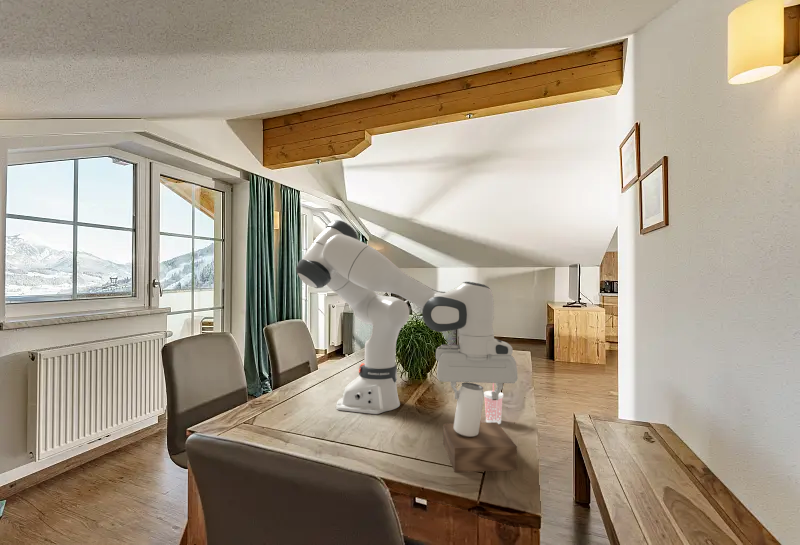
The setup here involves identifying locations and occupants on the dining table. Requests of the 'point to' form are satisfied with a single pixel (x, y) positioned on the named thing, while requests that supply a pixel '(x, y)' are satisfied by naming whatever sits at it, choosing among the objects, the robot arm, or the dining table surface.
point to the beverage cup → (493, 407)
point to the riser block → (480, 449)
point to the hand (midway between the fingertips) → (476, 399)
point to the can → (469, 409)
